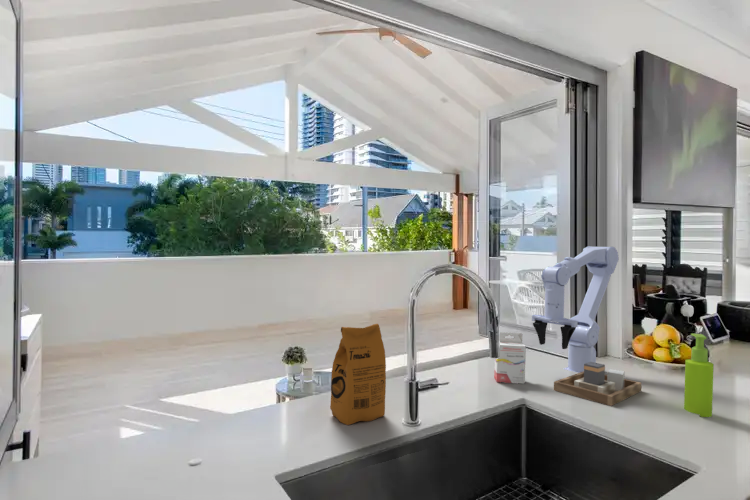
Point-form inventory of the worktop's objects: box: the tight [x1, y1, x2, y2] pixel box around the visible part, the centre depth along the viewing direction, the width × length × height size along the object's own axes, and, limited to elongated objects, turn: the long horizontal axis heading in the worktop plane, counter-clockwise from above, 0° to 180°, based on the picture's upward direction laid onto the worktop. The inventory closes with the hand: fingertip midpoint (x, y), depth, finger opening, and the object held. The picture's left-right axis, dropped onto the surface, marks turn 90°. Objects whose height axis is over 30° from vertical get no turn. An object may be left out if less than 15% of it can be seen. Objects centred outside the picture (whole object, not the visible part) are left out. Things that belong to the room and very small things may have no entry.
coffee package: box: [329, 323, 387, 426], centre depth 111 cm, size 10×12×22 cm
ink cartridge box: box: [493, 331, 527, 384], centre depth 142 cm, size 9×5×15 cm, turn 84°
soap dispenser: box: [683, 333, 714, 418], centre depth 118 cm, size 6×7×20 cm
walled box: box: [553, 371, 642, 407], centre depth 132 cm, size 20×16×4 cm
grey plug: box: [606, 368, 626, 391], centre depth 134 cm, size 4×4×5 cm
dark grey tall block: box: [584, 362, 606, 386], centre depth 131 cm, size 4×4×8 cm
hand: (553, 346), depth 147 cm, fingers open, 7 cm apart
